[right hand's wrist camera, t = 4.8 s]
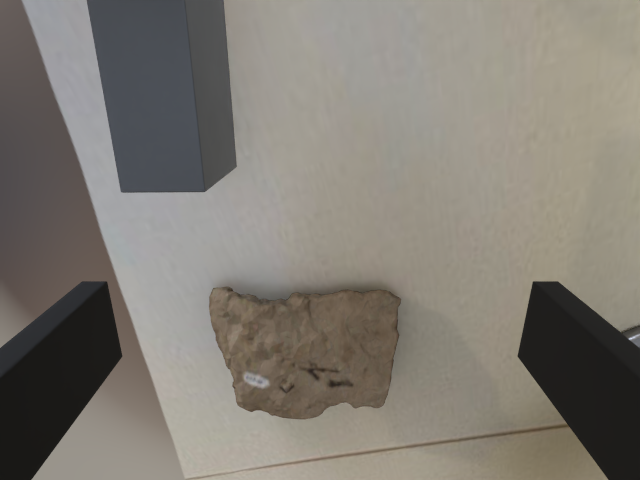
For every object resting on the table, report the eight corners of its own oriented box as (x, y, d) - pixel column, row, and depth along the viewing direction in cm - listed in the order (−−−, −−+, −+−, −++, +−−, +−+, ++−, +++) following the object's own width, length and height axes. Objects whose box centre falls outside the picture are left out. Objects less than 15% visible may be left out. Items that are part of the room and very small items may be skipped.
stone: (213, 405, 48) (207, 435, 42) (211, 282, 46) (204, 295, 40) (384, 394, 51) (401, 420, 45) (388, 279, 50) (406, 290, 44)
